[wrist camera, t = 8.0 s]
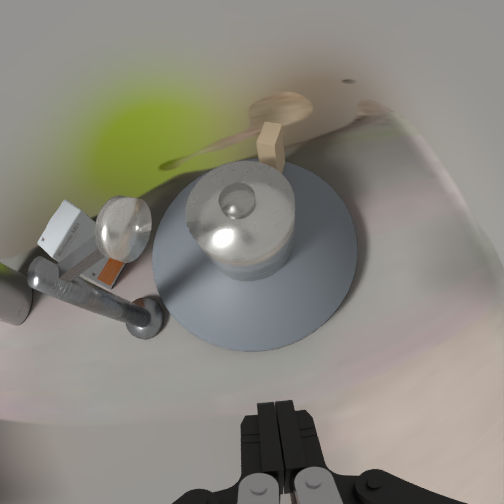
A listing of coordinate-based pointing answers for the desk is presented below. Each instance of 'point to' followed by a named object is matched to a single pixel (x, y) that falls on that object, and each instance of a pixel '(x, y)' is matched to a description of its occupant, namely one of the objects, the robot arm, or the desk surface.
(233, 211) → the cover
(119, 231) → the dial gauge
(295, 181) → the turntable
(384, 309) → the desk surface
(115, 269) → the skincare box
